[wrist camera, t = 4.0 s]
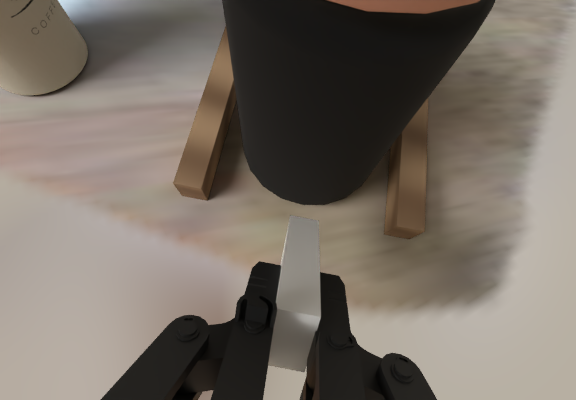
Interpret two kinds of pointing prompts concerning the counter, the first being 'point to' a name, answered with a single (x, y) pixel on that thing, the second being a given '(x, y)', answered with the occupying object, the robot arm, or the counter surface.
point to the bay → (214, 125)
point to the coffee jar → (336, 83)
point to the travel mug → (38, 47)
